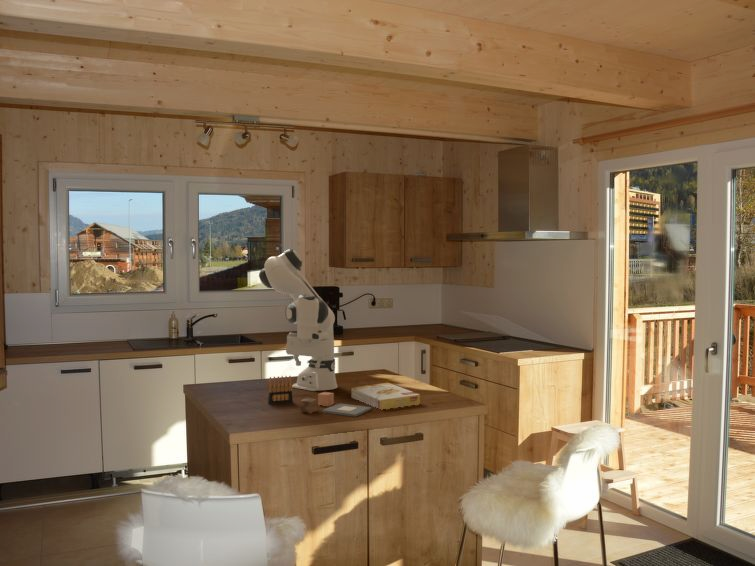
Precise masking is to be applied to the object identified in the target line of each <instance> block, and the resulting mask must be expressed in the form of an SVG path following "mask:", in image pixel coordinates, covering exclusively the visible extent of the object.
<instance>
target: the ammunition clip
mask: <svg viewBox="0 0 755 566" xmlns="http://www.w3.org/2000/svg"><path fill="white" fill-rule="evenodd" d="M280 377H281V378H280ZM292 385H293V383H292V377H291V375H289V376H287V375H285V377H284V376H283V375H281V376H277V378H276V377H275V376H273V379H272V376H269V380H268V395H267V396H268V398H267V403H269V405H272V404H271V403H277V404H287V403H286V402H289V403H293V387H292Z"/></svg>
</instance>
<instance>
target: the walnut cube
mask: <svg viewBox="0 0 755 566" xmlns="http://www.w3.org/2000/svg"><path fill="white" fill-rule="evenodd" d="M299 405H300V406H299V407H300V409H299V410H300V411H299V412H300V413H303V412H308V413H307V414H312V413H311V412H313V413H315V412H317V410H318V398H308V397H307V398H304V399H301V400H300V402H299ZM314 411H315V412H314Z"/></svg>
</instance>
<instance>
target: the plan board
mask: <svg viewBox="0 0 755 566" xmlns="http://www.w3.org/2000/svg"><path fill="white" fill-rule="evenodd" d="M369 411H372V406H365V405H364V406H363V405H356V404H355V405H354V404H348V403H339V402H338V403H336V404H333V405H330V406H328V407H327V408H324V409H322V410H321V413H322V412H323V414H331V415H337V414H338V415H339V416H346V417H354V418H356V417H359V416H361V415H363V414H364V413H367V412H369Z"/></svg>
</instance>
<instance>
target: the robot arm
mask: <svg viewBox="0 0 755 566" xmlns="http://www.w3.org/2000/svg"><path fill="white" fill-rule="evenodd" d="M302 265H303V260H302V256H301V255H300V254H299V253H298V252H297V250H294V249H291V248H289V249H287V250H285V251H283V253H281V254H279V255H276V256H270V257H268V258H267V259H266V260H265V262H264V265H263V266H264V267H262V269H261V270H260V271H259V272H258V273H259V274H258V278H259V279H260V282H261V283H262V285H263V286H265V287H266V288H268V289H273V290H274V291H275V292H277V293H280V294H283V295H284V294H285V295H289V296H290V297H291V299H292V300H293V301H292V302H289V304H288V305H286V307H285V319H286V321H288V322H289V323H290V324H294V325H297V326H296V332H289V333H288V334H287V336H286V345H285V346H286V347H285V353H286V354H287V355H289V356H291V355H292V356H293V359H294V362H295V366H296V367H300V366H302V360H301V361H300V359H299V357H300V356H301V357H302V356H303V357H311V358H310V359H309V360H307V361H306V364H308V365H307V367H305V369H303V370H302V371H301V372H300V373H298V374H297V379H296V383H292V389H294V388H295V389H301V390H305V391H311V392H317V391H318V392H319V391H329V390H335V389H337V388H338V384H337V383H338V382H337V379H336V378H337V377H336V373H335V372H336V371H335V370H336V358H335V337H334V324H335V320H336V316H335V314H334V312H333V310H332V309H331V308H330V306H329V305H328V304H327V303H326V302H325V301H324V300H323V298H322V297H321V296H319V294H318V293H317V292H316V290H315V289H314V288H313V286H312V285H311V284H310V283H309V281H308V280H307V279H306V277H305V276H304V275H303V274H302V273H301V272H300V271H301V270H302V269H301V268H302Z"/></svg>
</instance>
